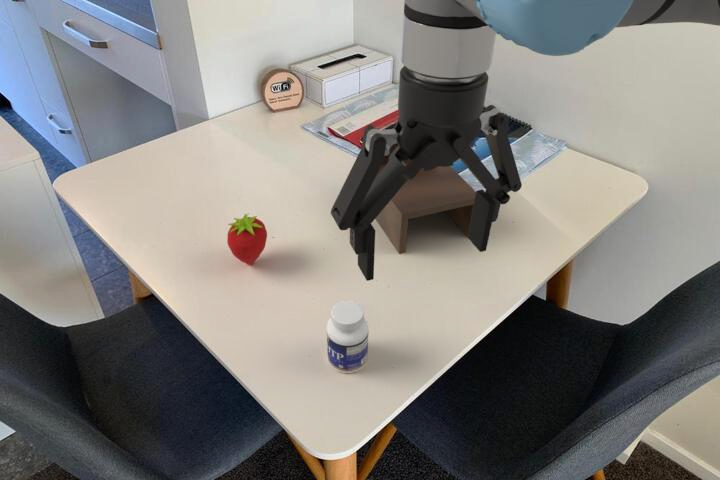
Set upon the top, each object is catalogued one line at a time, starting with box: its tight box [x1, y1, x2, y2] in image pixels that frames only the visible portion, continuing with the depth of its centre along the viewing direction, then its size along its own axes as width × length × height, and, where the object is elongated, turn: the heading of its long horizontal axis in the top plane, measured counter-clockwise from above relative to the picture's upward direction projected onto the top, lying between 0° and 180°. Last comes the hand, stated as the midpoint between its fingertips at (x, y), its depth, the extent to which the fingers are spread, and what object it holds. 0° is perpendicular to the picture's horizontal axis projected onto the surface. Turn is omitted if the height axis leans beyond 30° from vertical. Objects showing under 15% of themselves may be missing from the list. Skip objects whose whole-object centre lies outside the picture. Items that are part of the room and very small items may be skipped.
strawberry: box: [226, 212, 268, 266], centre depth 80 cm, size 6×8×10 cm
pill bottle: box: [326, 299, 370, 374], centre depth 66 cm, size 5×5×9 cm
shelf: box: [375, 144, 477, 254], centre depth 89 cm, size 16×14×12 cm
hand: (423, 257), depth 58 cm, fingers open, 13 cm apart
